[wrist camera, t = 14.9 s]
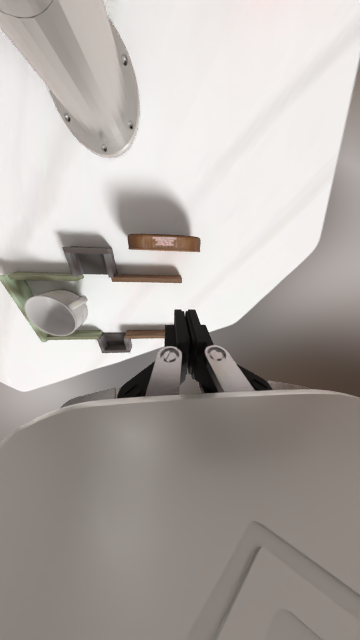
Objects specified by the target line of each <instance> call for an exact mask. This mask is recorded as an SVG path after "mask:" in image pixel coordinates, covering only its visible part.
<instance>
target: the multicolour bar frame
mask: <svg viewBox="0 0 360 640" xmlns="http://www.w3.org/2000/svg"><path fill="white" fill-rule="evenodd" d="M62 248H63V251H64V253H65V256H66V258H67V261H68V264H69V266H70V269H71V272H72V273H37V272H13V273H9V274H4V275H0V281H1V282H2V284H3V285H4V286H5V288H6V289H7V291H8V292H9V294H10V295H11V297H12V298H13V300H14V301H15V303H16V304H17V306H18V307H19V309H20V310H21V312H22V313H23V315H24V316H25V318H26V319H27V321H28V322H29V323H30V325H31V326H32V328H33V329H34V331H35V332H36V334H37V335H38V337H39V338H40V340H41V341H42V342H46V341H48V340H72V339H97V340H98V343H99V346H100V348H101V351H102V353H122V352H130V351H131V348H132V343H131V339H140V338H165V330H127V332H126V333H103V332H102V331H74V332H73V333H72V334H70V335H67V336H55V335H51V334H48V333H46V332H44V331H42V330H40V329H39V328H37V327H36V326H35V325H34V324H33V323H32V322H31V321H30V320H29V318H28V317H27V315H26V313H25V309H24V306H25V302H26V301H27V300H28V299H29V298H30V297H33V296H34V295H33V294H32V292H31V290H30V289H29V287H28V285H27V283H26V282H25V280H58V281H78V280H80V279H82V278H84V276H83V274H108V275H109V277H111V279H112V282H159V283H182V278H181V276H162V275H120V274H117V270H116V265H115V260H114V255H113V250H112V248H97V247H72V246H71V247H62Z"/></svg>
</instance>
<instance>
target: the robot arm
mask: <svg viewBox="0 0 360 640" xmlns="http://www.w3.org/2000/svg"><path fill="white" fill-rule="evenodd" d="M0 28H1V29H2V30H3V32H4V33H5V34H6V35H7V37H8V38H9V39H10V40H11V42H12V43H13V44H14V45H15V46H16V48H17V49H18V50H19V51H20V53H21V54H22V55H23V56H24V58H25V59H26V60H27V61H28V63H29V64H30V65H31V66H32V68H33V69H34V70H35V71H36V73H37V74H38V75H39V76H40V78H41V79H42V80H43V81H44V83H45V84H46V85H47V86H48V88H49V89H50V91H51V94H52V97H53V100H54V102H55V105H56V107H57V109H58V111H59V113H60V115H61V117H62V119H63V120H64V122H65V124H66V125H67V127H68V128H69V130H70V131H71V132H72V134H73V135H74V136H75V137H76V138H77V139H78V140H79V142H80V143H82V144H83V145H84V146H85V147H86V148H87V149H88V150H90V151H91V152H93V153H94V154H97V155H99V156H101V157H106V158H113V157H117V156H120V155H122V154H123V153H124V152H126V151H127V150H128V149H129V147H130V146H131V144H132V143H133V141H134V138H135V136H136V133H137V129H138V124H139V115H140V105H139V94H138V87H137V82H136V77H135V73H134V69H133V66H132V63H131V59H130V57H129V54H128V52H127V50H126V47H125V45H124V43H123V41H122V39H121V37H120V36H119V34H118V32H117V30H116V29H115V28H114V26H113V25H112V24H111V22H110V21H109V20H108V17H107V13H106V9H105V6H104V2H103V0H0ZM125 64H127V65H126V66H125ZM70 119H71V120H70ZM69 120H70V122H69ZM131 127H133V129H130V128H131ZM105 149H107V151H106V152H105ZM187 367H188V372H189V374H191V375H192V379H195V380H196V381H198V382H199V387H200V390H201V393H202V394H186V395H185V394H184V395H179V391H180V385H181V383H182V382H183V381H184V380H185V377H186V374H187ZM0 640H360V398H359V397H355V396H352V395H348V394H344V393H338V392H333V391H325V390H311V389H308V388H306V387H303V386H297V385H292V384H286V383H279V382H274V381H268V382H266V381H265V380H264V379H262V378H261V377H259V376H257V375H255V374H254V373H252V372H250V371H248V370H246V369H244V368H243V367H241V366H239V365H237V364H236V363H235V362H234V360H233V359H232V358H231V356H230V355H229V353H228V352H227V351H226V350H225V349H224V348H222V347H220V346H216V345H213V342H212V340H211V337H210V335H209V332H208V330H207V328H206V325H201V324H200V322H199V319H198V316H197V313H196V311H195V310H188V311H186V313H185V314H184V311H181V310H175V312H174V325H165V347H164V348H162V349H161V350H160V351H159V352H158V354H157V358H156V361H155V362H153V363H152V364H151V365H149V366H148V367H147V368H146V369H144V370H143V371H141V372H140V373H139V374H137V375H136V376H135V377H134V378H132V379H131V380H130V381H128V382H127V383H125V384H124V385H123V386H122V387H121V388H119V389H116V388H111V389H107V390H104V391H99V392H95V393H92V394H88V395H84V396H80V397H76V398H74V399H71V400H69V401H68V402H66V403H65V404H64V405H63V406H62V407H61V408H60V409H58V410H55V411H52V412H49V413H47V414H44V415H42V416H40V417H38V418H36V419H34V420H32V421H30V422H28V423H26V424H24V425H22V426H21V427H19V428H18V429H16V430H15V431H14V432H12V433H11V434H10V435H8V436H7V437H6V438H5V439H3V440H2V441H1V442H0Z"/></svg>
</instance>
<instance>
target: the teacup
mask: <svg viewBox="0 0 360 640" xmlns="http://www.w3.org/2000/svg"><path fill="white" fill-rule="evenodd" d="M87 301H88V299H87V298H86V297H85V296H81V297H79V296H77V295H76V294H74V293H72V292H69V291H66V290H53V291H49V292H46V293H43V294H40V295H37V296H33V297H30V298H29V299H28V300H27V301H26V302H25V306H24V309H25V313H26V315H27V317H28V318H29V320H30V321H31V322H32V323H33V324H34V325H35V326H36V327H37V328H39V329H40V330H42V331H44V332H46V333H48V334H51V335H55V336H67V335H70V334H72V333H73V332H74V331H75V330H76V329H77V328H78V327H79V326H80V325H81V324H82V323H83V322H84V321H85V320H86V318H87V315H88V309H87V306H86V304H85V303H86V302H87Z"/></svg>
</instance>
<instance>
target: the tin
mask: <svg viewBox="0 0 360 640" xmlns="http://www.w3.org/2000/svg"><path fill="white" fill-rule="evenodd" d="M128 244H129V249H132V250H158V251H185V252H200V238H198V237H193V236H179V235H160V234H130V235H128Z"/></svg>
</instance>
